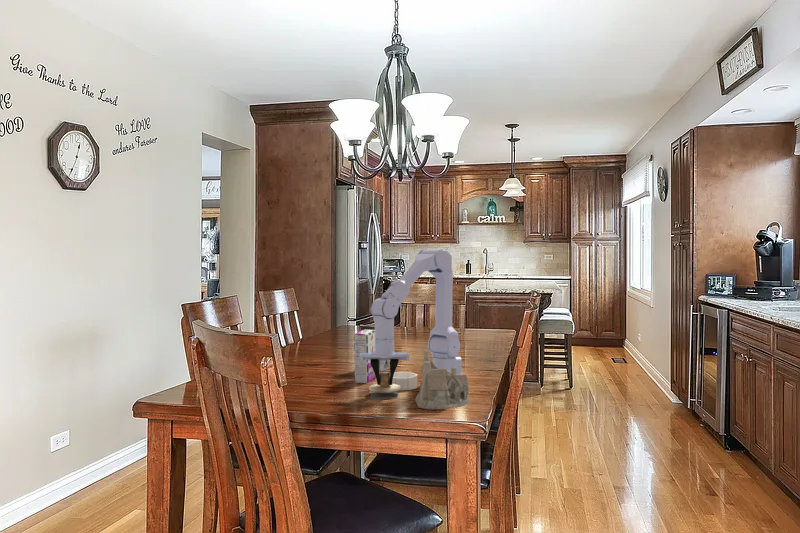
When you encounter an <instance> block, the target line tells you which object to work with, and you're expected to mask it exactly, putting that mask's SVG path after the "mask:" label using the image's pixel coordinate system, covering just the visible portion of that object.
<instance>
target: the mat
mask: <svg viewBox="0 0 800 533" xmlns="http://www.w3.org/2000/svg"><path fill="white" fill-rule="evenodd" d="M398 398H399V391H396V392H391V393H378V392H372V391H371V395H370V397H369V399H370V400H373V399H376V400H377V399H381V400H382V399H384V400H385V399H387V400H389V399H390V400H392V399H393V400H395V399H398Z"/></svg>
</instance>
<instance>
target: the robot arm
mask: <svg viewBox="0 0 800 533" xmlns="http://www.w3.org/2000/svg"><path fill="white" fill-rule="evenodd" d="M452 260H453V256H452V255H451V253H450V252H449V251H448V250H447V249H445V248H440V249H438V248H437V249H427V248H423V249H420V250H419V251H418V254H416V255H415V256H414V261H413V263H412V264H410V266H409V268H408V270H406V272H405V273H404V275H403V276H402V277H401V279H400V280H399V279H397V280H394V281H391V282H390V286H389V287H388V289H386V291H385V292H383V293H382V295H381V297H378V298H376V299H375V300H374V301H373V302H372V303H371V307H370V308H369V309H370V313H371V316H372V317H373V318H372V319H373V322H374V325H375V352H374V353H360V361H363V360H371V362H370V364H371V366H372V368H373V370H374V373H375V376H376V378H375V379H376V384H377V385H380V372H379V361H380V360H389V373H390V385H392V380H393V376H394V372H396V370H397V367H398V364H399V362H400V361H410V353H409V352H395V317H396V316H397V314H398V313H399V308H400V306H401V304H402V303H403V301H404V300H405V299H406V298H407V296H408V295H410V287H411V286H412V285H413V284H414V283H415V282H416V281H417V280H418V279H419V278H420V277H421V276H422V275H423V274H424V273H425V272H428V273H430V274H431V275H432V276H433V277H434V278H435V311H434V312H435V316H434V317H435V319H434V327H433V328H432V329H431V330H430V331H429V337H428V340H427V350H428V352H430V356H431V357H432V362H433V363H434V364H435V365H436V366H438V369H447V370H448V371H449V372H451V368H452V367H456V374H457V375H461V374H463V372H462V371H463V370H462V368H463V366H462V365H463V364H462V357H461V356H457V355H458V354H459V353H460V350H461V342H460V339H459V332H458V331H457V330H456V329H455V328H454V327H453V287H454V285H453V284H454V283H453V282H454V280H453V278H454V277H453V276H454V273H453V268H452V267H453V266H452V264H453V261H452Z"/></svg>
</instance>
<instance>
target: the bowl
mask: <svg viewBox="0 0 800 533" xmlns="http://www.w3.org/2000/svg"><path fill="white" fill-rule="evenodd" d="M392 384H397V385H400V390H399V391H411V390H414V389H418V373H415V372H410V371H409V372H408V371H397V372H396V371H395V372H394V376H393V380H392Z"/></svg>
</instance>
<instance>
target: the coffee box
mask: <svg viewBox="0 0 800 533" xmlns="http://www.w3.org/2000/svg"><path fill="white" fill-rule="evenodd" d="M362 330H375V324H372V323H371V324H364V325H360V331H362ZM387 370H390V360H380V361H379V373H381V372H385V371H387Z"/></svg>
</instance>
